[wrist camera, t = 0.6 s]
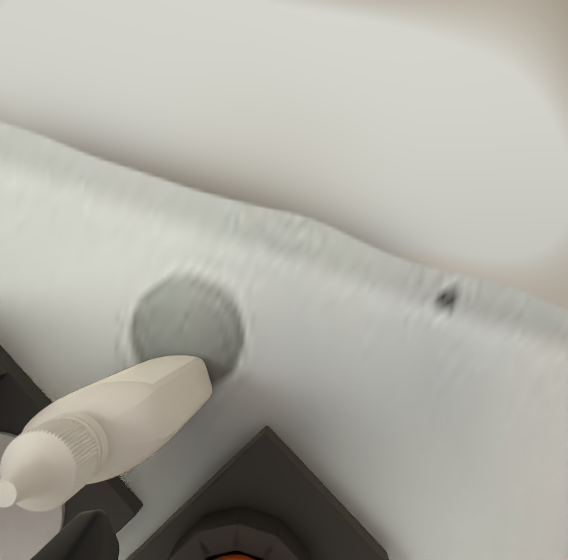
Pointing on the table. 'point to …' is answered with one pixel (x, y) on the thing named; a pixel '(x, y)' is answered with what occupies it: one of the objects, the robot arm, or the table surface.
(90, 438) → the eye dropper bottle
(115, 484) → the coffee maker
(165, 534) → the pad
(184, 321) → the table surface
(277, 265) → the table surface
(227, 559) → the button
